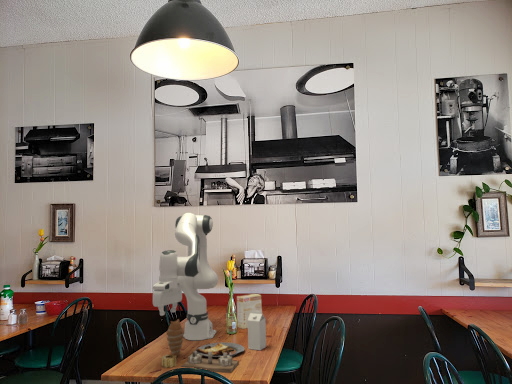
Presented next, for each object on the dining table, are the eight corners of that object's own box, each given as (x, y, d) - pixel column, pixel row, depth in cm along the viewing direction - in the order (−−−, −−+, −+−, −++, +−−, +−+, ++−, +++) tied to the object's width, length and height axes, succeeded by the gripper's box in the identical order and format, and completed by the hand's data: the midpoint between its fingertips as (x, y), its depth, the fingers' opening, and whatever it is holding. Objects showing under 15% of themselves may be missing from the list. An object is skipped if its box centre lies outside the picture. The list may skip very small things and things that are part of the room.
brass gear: (166, 362, 204) (165, 354, 205) (178, 363, 203) (178, 354, 203) (159, 367, 198) (159, 358, 198) (172, 368, 196) (172, 359, 196)
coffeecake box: (256, 323, 279) (256, 293, 280) (262, 325, 273) (261, 294, 274) (236, 326, 271) (236, 295, 272) (242, 329, 265) (241, 297, 266)
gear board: (191, 360, 206) (191, 347, 206) (238, 363, 200) (238, 349, 200) (181, 369, 194) (180, 354, 195) (230, 372, 188) (230, 357, 189)
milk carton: (254, 345, 229) (253, 309, 230) (266, 347, 226) (265, 310, 227) (248, 349, 223) (247, 312, 224) (260, 350, 219) (259, 313, 221)
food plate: (218, 363, 201) (218, 355, 201) (186, 355, 216) (186, 347, 216) (252, 351, 220) (252, 344, 220) (221, 344, 235) (221, 338, 235)
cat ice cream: (177, 352, 219) (176, 317, 221) (187, 355, 214) (186, 319, 216) (163, 357, 213) (163, 320, 214) (173, 360, 208) (173, 322, 209)
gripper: (174, 282, 215) (174, 310, 214) (150, 286, 196) (149, 316, 195) (185, 282, 213) (185, 310, 211) (161, 286, 194) (161, 317, 193)
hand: (167, 313), depth 203 cm, fingers open, 8 cm apart
